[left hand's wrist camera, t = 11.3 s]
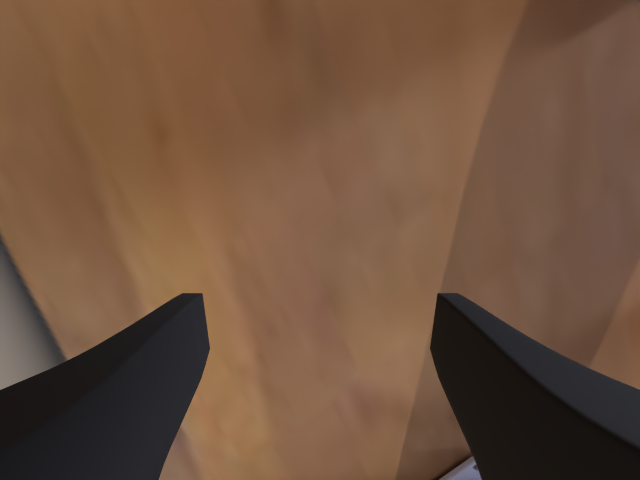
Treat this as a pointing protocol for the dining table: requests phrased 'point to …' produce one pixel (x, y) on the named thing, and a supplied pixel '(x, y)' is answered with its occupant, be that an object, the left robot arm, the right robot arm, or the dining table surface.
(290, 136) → the dining table surface
